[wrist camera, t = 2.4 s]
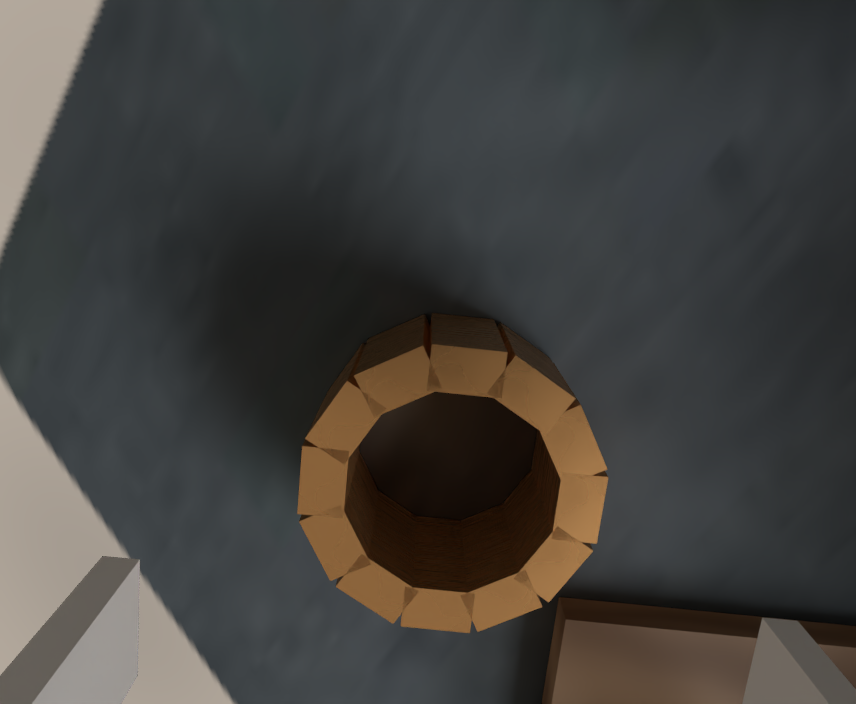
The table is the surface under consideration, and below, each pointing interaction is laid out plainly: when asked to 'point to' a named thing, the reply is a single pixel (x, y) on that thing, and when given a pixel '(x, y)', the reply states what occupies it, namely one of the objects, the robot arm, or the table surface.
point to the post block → (664, 654)
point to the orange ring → (446, 538)
